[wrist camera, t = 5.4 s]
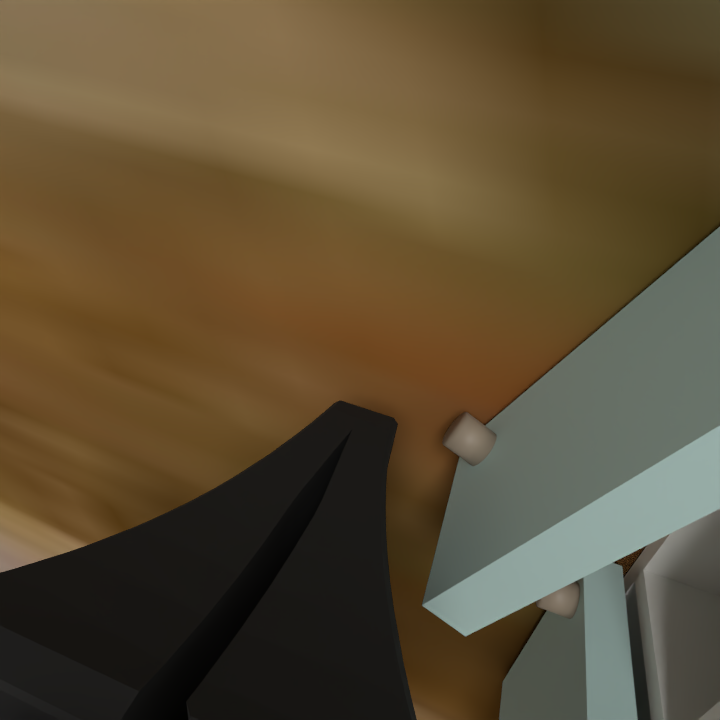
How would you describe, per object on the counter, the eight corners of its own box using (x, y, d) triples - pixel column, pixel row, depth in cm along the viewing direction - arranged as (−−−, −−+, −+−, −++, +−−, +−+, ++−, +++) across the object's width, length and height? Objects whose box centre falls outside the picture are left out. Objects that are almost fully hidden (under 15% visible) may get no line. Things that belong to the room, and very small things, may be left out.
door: (938, 120, 8) (1338, 223, 4) (494, 462, 14) (463, 646, 10) (846, 41, 8) (1156, 60, 4) (438, 421, 13) (383, 589, 9)
